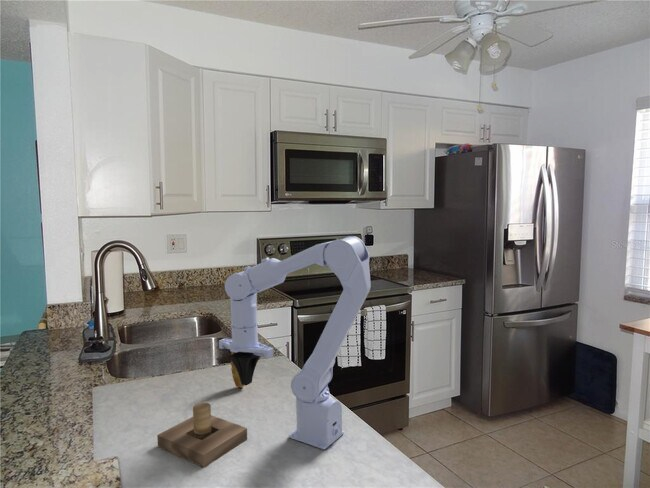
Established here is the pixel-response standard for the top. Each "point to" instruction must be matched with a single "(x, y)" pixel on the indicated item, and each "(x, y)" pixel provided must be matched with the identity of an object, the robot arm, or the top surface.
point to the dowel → (202, 420)
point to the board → (202, 450)
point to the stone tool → (235, 375)
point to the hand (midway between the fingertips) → (246, 383)
